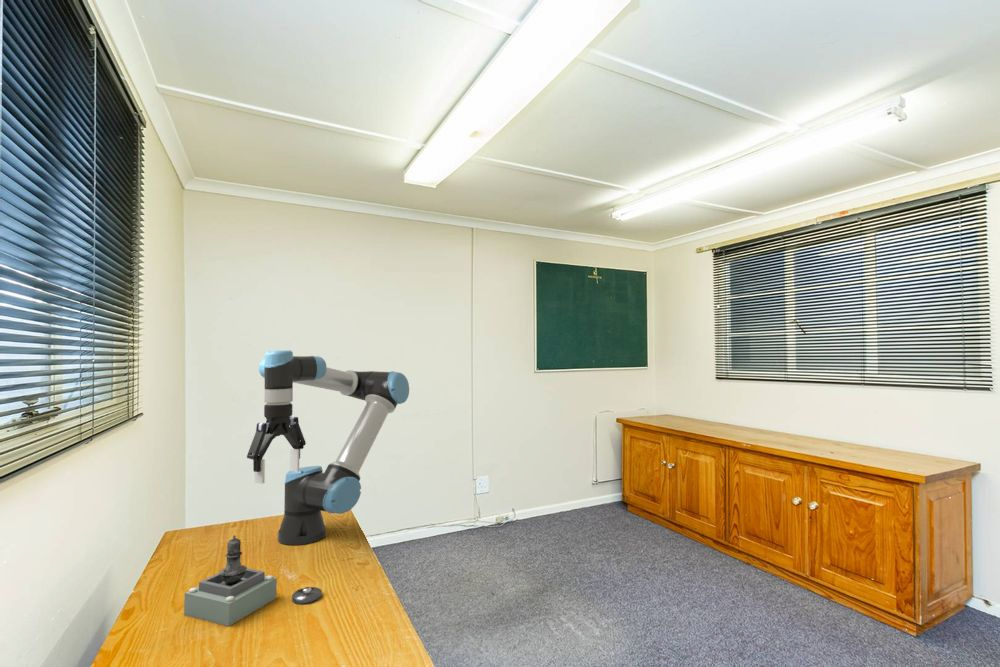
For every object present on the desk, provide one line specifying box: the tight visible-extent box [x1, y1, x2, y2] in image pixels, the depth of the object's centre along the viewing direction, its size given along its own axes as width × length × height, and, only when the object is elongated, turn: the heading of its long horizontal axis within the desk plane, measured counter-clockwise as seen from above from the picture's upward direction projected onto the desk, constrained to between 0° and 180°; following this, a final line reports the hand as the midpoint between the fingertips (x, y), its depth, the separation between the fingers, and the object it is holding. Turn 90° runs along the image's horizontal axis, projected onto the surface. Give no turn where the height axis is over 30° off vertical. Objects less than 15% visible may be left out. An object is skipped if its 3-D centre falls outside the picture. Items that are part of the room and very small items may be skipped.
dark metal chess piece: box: [218, 535, 248, 587], centre depth 121 cm, size 6×6×12 cm
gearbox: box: [183, 567, 278, 627], centre depth 121 cm, size 14×16×7 cm
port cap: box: [291, 586, 323, 605], centre depth 125 cm, size 7×7×2 cm
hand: (277, 476), depth 143 cm, fingers open, 13 cm apart
